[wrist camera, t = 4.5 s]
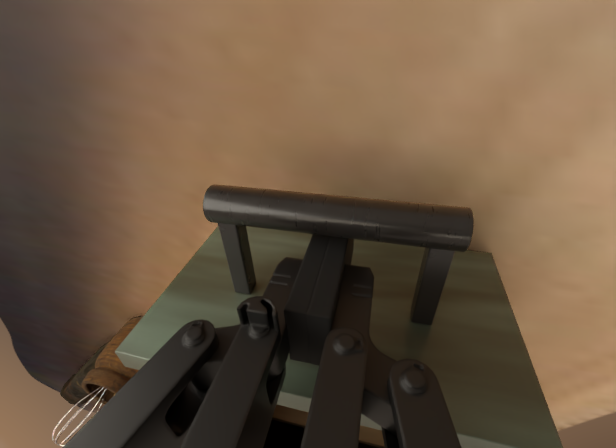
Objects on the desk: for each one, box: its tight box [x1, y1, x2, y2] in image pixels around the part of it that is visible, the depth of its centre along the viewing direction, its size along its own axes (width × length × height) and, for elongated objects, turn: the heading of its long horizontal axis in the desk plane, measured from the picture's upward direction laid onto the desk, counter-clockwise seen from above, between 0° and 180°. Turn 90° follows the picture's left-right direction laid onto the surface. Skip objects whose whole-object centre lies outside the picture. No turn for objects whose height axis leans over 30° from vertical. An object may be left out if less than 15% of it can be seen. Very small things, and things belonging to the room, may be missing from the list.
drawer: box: [115, 185, 563, 448], centre depth 19 cm, size 24×17×10 cm
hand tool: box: [60, 342, 109, 404], centre depth 40 cm, size 19×4×5 cm, turn 138°
